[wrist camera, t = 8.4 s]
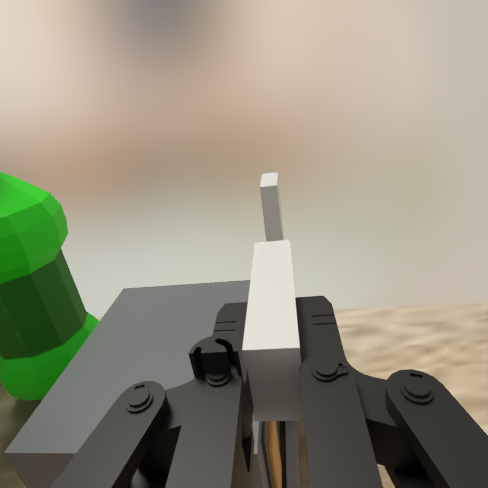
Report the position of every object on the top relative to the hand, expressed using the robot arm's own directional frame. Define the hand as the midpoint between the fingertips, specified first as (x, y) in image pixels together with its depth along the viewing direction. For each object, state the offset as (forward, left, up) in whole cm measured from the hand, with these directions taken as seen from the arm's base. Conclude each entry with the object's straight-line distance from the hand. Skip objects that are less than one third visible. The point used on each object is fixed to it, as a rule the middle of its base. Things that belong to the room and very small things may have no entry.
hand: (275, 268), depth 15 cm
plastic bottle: (-23, +11, -18) cm, 31 cm away
